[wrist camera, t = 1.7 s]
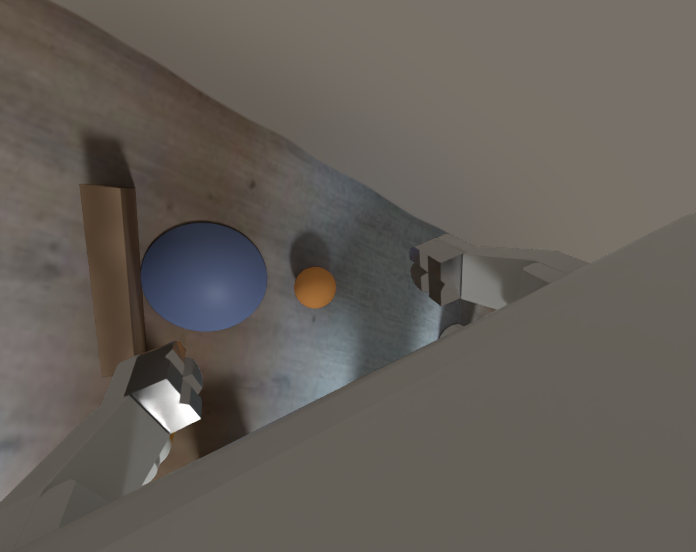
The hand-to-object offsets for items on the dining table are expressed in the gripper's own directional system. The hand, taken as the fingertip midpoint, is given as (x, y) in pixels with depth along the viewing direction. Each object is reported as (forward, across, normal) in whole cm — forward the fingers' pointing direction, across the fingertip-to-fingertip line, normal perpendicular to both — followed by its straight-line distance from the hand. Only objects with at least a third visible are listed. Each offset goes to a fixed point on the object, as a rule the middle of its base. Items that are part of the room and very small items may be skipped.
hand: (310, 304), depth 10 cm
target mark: (+27, -8, -10) cm, 30 cm away
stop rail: (+28, -16, -7) cm, 33 cm away
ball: (+23, +4, -14) cm, 27 cm away
